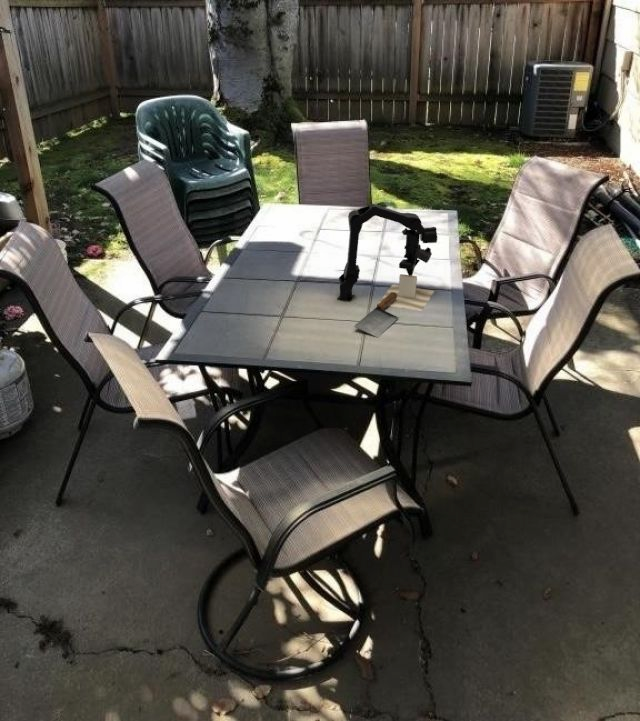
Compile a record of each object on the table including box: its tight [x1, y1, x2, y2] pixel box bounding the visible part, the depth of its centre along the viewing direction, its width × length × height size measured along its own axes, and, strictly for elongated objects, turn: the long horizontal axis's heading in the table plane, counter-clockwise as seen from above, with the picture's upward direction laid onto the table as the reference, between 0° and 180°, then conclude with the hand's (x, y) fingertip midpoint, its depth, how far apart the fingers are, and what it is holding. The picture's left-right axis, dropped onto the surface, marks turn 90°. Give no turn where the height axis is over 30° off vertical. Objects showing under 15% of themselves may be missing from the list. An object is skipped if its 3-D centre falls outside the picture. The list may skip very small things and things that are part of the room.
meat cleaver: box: [354, 292, 399, 338], centre depth 278 cm, size 34×11×4 cm, turn 148°
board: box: [378, 284, 435, 312], centre depth 294 cm, size 22×20×1 cm
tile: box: [398, 273, 418, 298], centre depth 292 cm, size 2×8×10 cm, turn 67°
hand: (410, 276), depth 294 cm, fingers closed
